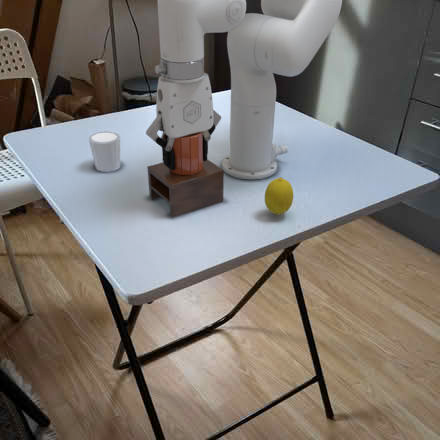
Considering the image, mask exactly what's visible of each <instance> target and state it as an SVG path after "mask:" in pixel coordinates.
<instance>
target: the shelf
mask: <svg viewBox="0 0 440 440" xmlns="http://www.w3.org/2000/svg"><path fill="white" fill-rule="evenodd" d="M146 169H147V181H148V193H149V199H151V200H156V199H158V198H162V199H163V200H164V201H166V202H167V203H168V204H169V214H170V217H171V218H177V217H180V216H182V215H185V214H189V213H192V212H195V211H199V210H201V209H205V208H208V207H212V206H213V205H216V204H220V203H223V202H224V183H225V182H224V181H225V176H224V175H225V171H224V170H223V168H221V167H220V166H218V165H216V164H215V163H214V162H212V161H210V160H209V159H208V158H207V161H203V169H202V170H201V171H200V172H198V173H196V174H192V175H179V174H175V173H173V172H172V171H170V170H169V168H168V167H167V166H165V165H164V163H163V161H162V162H158V163H155V164H151V165H147V166H146Z"/></svg>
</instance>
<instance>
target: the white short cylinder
mask: <svg viewBox="0 0 440 440" xmlns="http://www.w3.org/2000/svg"><path fill="white" fill-rule="evenodd" d="M88 143H89V146H90V150H91V154H92V159H93V163H94V167H95V170H97V171H99V172H103V173H110V172H115V171H117V170H119V169H120V168H121V165H122V164H121V136H120V134H119V133H117V132H113V131H99V132H95V133H92V134H91V135H89V136H88Z"/></svg>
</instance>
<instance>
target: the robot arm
mask: <svg viewBox="0 0 440 440" xmlns="http://www.w3.org/2000/svg"><path fill="white" fill-rule="evenodd" d="M342 4H343V0H260V8H261V11H262V13H263V14H262V13H256V12H255V13H254V12H250V13H249V12H248V13H246V11H247V0H157V17H158V32H159V34H158V35H159V36H158V37H159V50H160V51H159V53H160V58H159V64H157V65H155V66H154V72H155V74H156V75H158V74H159V75H161V76H159V77H158V82H157V89H156V100H155V101H156V102H155V103H156V107H155V108H156V116H155V119H154V120H153V121H152V122H151V124H150V125H149V127H148V128H147V130H146V131H145V135H146V136H147V137H148V138H149V139H151V140H152V141H153V142H154V143H156V144H157V145H158V146H159V147H161V152H162V153H161V155H162V162H163V163H164V165H165V166H167V167H168V168H169V169H171V170H175V152H174V150H172V146H173V143H174V140H175V138H179V137H183V136H188V135H192V134H196V133H199V132H202V136H203V161H207V159H208V154H209V142H210V141H211V138H212V134H213V133H214V132H215V130H216V127H217V126H218V125H219V123H220V121H222V116H221V115H220V114H219V113H218V112H217V111H216V110H214V101H213V100H214V99H213V93H212V86H211V81H210V77H209V74H208V73H207V72H205V34H209V33H210V34H211V33H227V36H226V48H227V55H228V61H229V68H230V108H229V109H230V114H229V150H228V151H229V152H228V155H227V156H226V157H225V158H223V160H222V162H221V167H222V168H221V169H223V170H224V173H225V174H227V175H229V176H231V177H234V178H236V179H242V180H260V179H261V180H262V179H265V178H268V177H271V176H273V175H275V173H276V172H277V170H278V162H277V161H276V159H275V158H277V157H278V156H281V155H284V154H286V153H288V150H289V149H288V145H286V144H282V145H279V146H277V145H276V143H273V138H274V126H275V115H276V101H277V84H276V80H275V75H274V74H276V75H280V76H284V77H296V76H298V75H300V74H302V73H303V72H304V71H305V70H306V68H307V67H308V66H309V65H310V63H311V62H312V61H313V59H314V57H315V56H316V54H317V53H318V52H319V50H320V49H321V46H322V45H323V44H324V42H325V41H326V40H327V38H328V36H329V34H330V33H331V31H332V30H333V29H334V27H335V25H336V23H337V21H338V19H339V16H340V12H341V9H342ZM159 131H160V132H162V133H161V135H160V136H159V134H158V132H159Z"/></svg>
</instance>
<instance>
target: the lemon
mask: <svg viewBox="0 0 440 440" xmlns="http://www.w3.org/2000/svg"><path fill="white" fill-rule="evenodd" d="M293 202H294V189H293V186H292V184H291V182H289V181H288V180H287V179H284V178H283V177H278V178H275V179H273V180H271V181H270V182H268V184H267V186H266V188H265V191H264V204H265V207H266V208H267V210H268V211H269V212H271V213H272V214H274V215H275V216H279V215H283V214H285V213H286V212H287V211H289V210H290V208H291V207H292V205H293Z"/></svg>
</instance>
